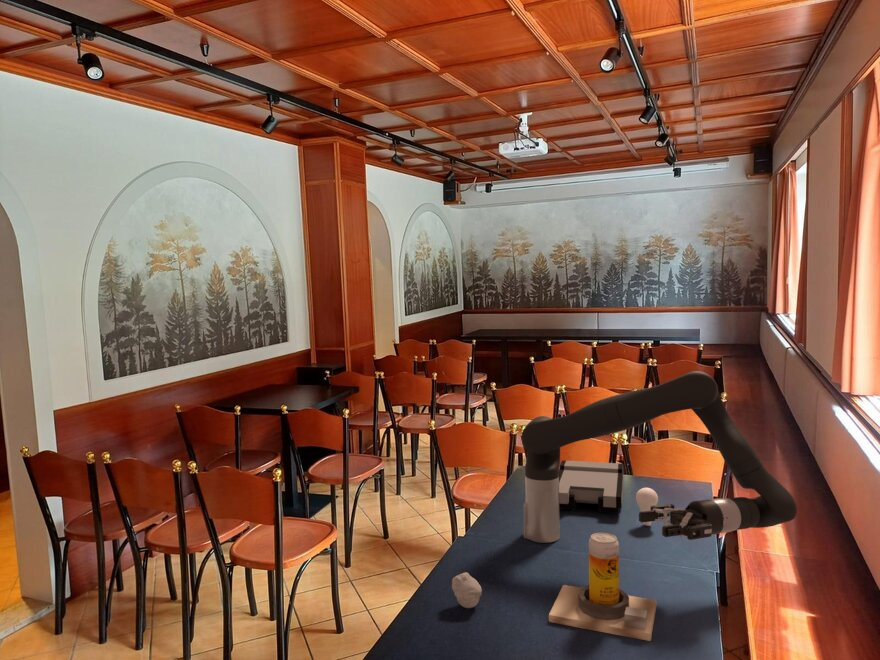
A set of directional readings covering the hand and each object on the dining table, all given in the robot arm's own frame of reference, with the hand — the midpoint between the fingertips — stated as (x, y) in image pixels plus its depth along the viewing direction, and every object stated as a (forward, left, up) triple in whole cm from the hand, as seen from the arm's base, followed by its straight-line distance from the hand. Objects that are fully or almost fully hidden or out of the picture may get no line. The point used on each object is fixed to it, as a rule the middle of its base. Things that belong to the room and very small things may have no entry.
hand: (651, 524), depth 136 cm
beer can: (-9, -10, -15) cm, 20 cm away
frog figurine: (-37, -17, -17) cm, 44 cm away
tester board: (-9, -10, -17) cm, 21 cm away
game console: (-24, +61, -17) cm, 68 cm away
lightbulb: (-5, +44, -17) cm, 47 cm away
